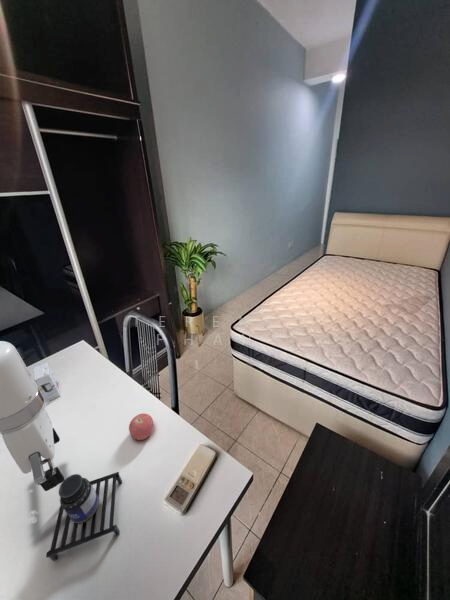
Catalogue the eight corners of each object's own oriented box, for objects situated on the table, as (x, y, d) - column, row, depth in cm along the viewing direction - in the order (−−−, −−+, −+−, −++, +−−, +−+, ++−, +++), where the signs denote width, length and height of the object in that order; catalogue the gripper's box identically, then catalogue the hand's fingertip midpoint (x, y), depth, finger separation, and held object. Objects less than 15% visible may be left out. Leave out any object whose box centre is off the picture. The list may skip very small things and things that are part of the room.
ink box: (44, 389, 101) (32, 367, 95) (58, 383, 103) (47, 361, 98) (46, 403, 94) (33, 380, 89) (61, 396, 97) (49, 374, 91)
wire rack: (54, 565, 55) (45, 556, 52) (68, 500, 66) (61, 491, 63) (120, 538, 58) (115, 529, 56) (123, 481, 69) (118, 471, 67)
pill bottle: (66, 518, 58) (47, 495, 53) (86, 490, 63) (71, 466, 58) (85, 529, 56) (68, 506, 51) (105, 499, 61) (91, 475, 56)
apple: (134, 449, 77) (127, 433, 73) (131, 429, 83) (125, 414, 79) (157, 438, 80) (152, 422, 76) (153, 420, 85) (148, 404, 82)
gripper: (-6, 386, 47) (31, 440, 55) (-19, 464, 34) (32, 519, 42) (40, 369, 51) (69, 422, 59) (44, 433, 38) (80, 489, 46)
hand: (53, 463), depth 51 cm, fingers open, 9 cm apart
